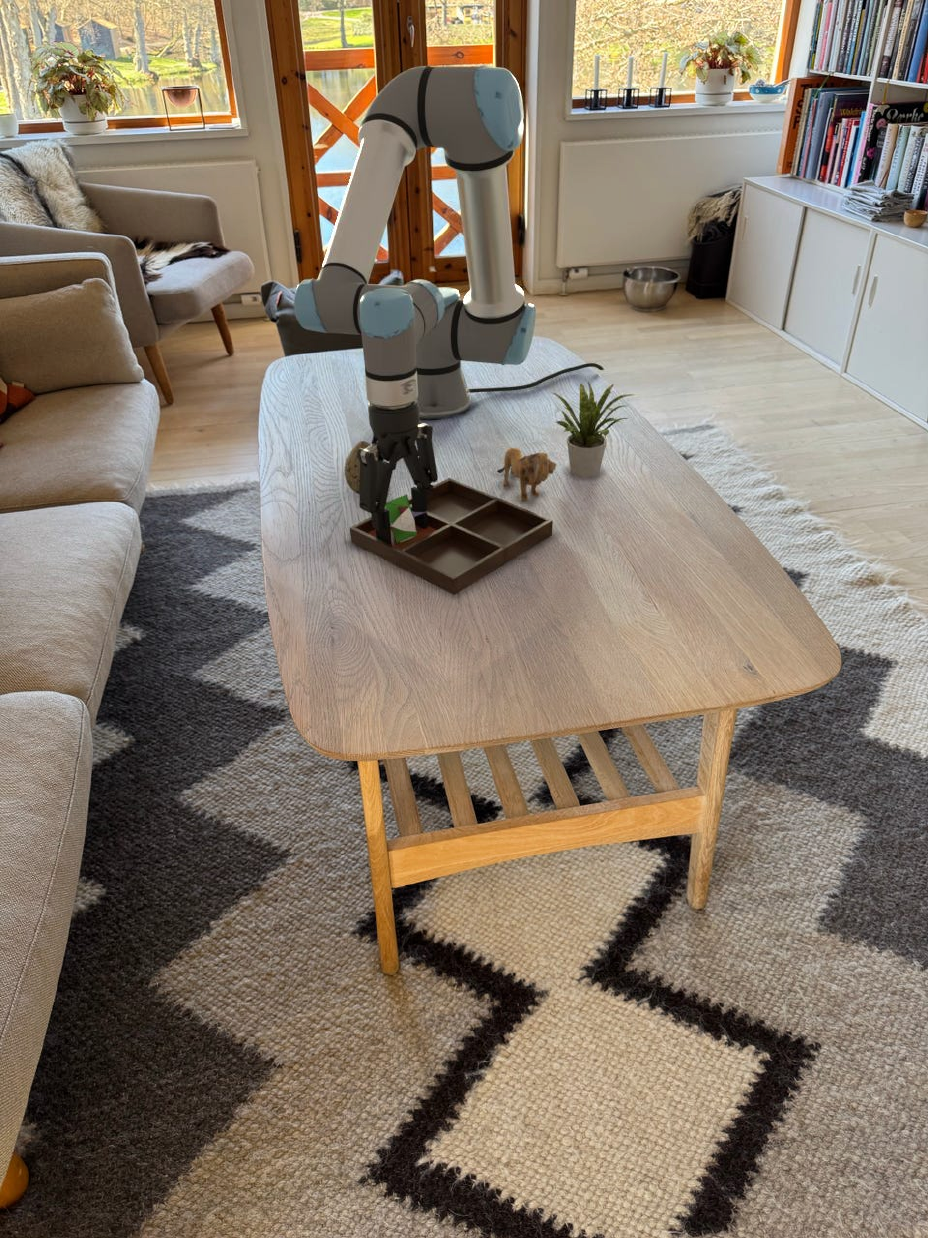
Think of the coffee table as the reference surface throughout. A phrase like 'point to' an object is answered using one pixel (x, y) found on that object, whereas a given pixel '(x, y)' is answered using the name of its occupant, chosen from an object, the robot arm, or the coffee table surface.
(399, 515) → the geometric puzzle
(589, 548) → the coffee table surface
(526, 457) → the lion figurine
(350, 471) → the decorative egg
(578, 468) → the house plant
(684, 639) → the coffee table surface
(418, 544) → the sorting tray
